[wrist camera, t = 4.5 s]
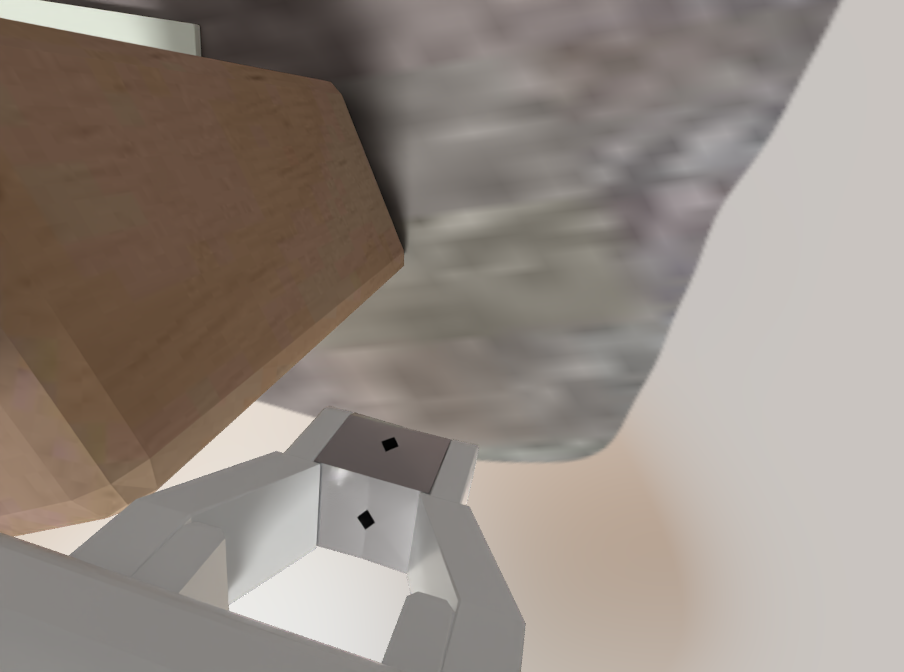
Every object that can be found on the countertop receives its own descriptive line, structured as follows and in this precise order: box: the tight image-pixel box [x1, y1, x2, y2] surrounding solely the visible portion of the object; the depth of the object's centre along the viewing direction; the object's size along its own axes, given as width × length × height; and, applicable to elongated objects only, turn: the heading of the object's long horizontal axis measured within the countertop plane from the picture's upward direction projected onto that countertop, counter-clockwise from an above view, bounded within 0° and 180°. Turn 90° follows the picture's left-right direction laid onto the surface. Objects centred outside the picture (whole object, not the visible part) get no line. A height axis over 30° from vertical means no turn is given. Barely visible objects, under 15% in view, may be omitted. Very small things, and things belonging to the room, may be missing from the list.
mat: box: [0, 0, 201, 57], centre depth 30 cm, size 22×16×1 cm
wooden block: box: [0, 18, 404, 537], centre depth 18 cm, size 10×10×20 cm
